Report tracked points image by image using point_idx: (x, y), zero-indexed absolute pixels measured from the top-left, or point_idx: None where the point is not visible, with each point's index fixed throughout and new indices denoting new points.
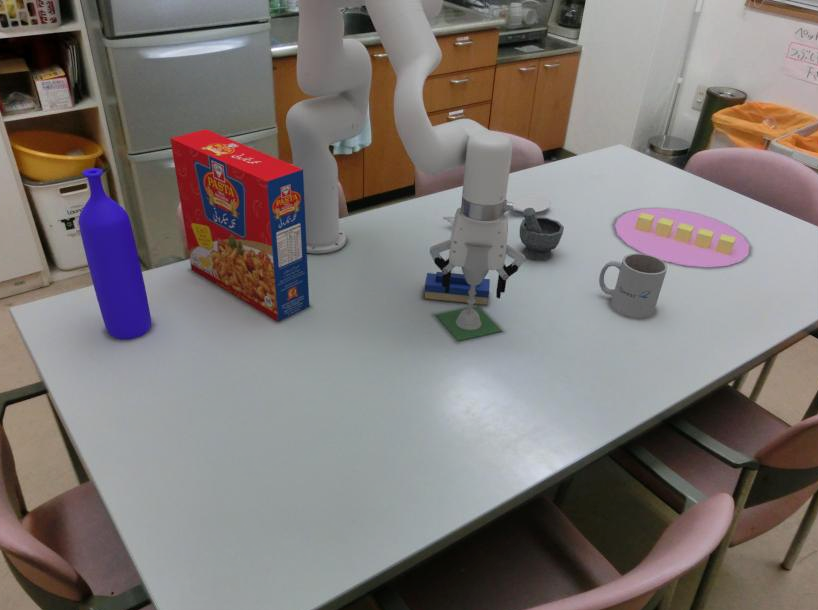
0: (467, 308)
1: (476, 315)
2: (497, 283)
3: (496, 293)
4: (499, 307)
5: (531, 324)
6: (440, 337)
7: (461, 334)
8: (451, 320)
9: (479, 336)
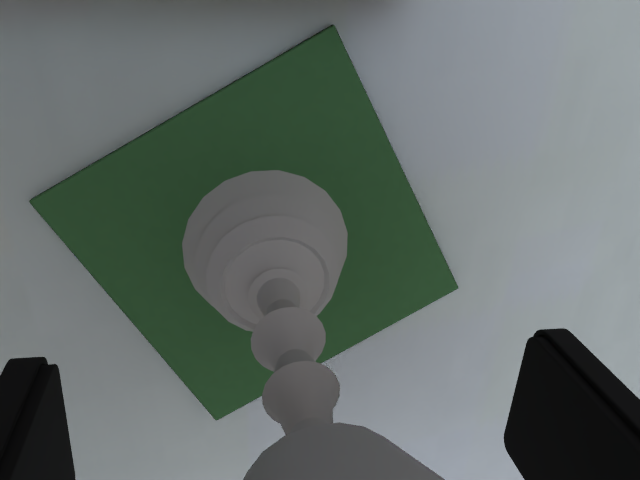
0: (258, 279)
1: (322, 304)
2: (571, 383)
3: (518, 397)
4: (487, 5)
5: (634, 181)
6: (112, 406)
7: (230, 369)
8: (152, 249)
9: (330, 356)
